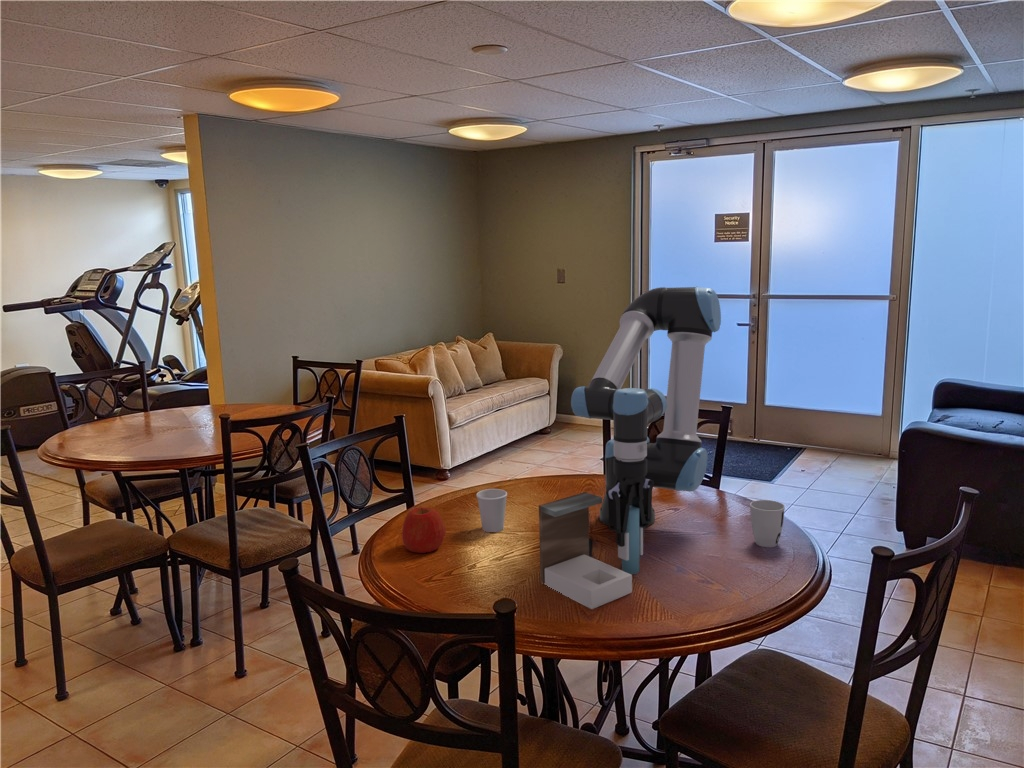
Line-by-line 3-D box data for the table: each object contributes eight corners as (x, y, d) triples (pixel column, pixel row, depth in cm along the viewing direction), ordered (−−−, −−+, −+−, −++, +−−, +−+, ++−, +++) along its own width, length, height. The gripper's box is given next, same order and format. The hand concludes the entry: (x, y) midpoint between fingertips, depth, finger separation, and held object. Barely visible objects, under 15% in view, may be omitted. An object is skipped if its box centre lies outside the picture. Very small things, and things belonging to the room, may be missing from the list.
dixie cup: (500, 521, 205) (499, 486, 203) (513, 530, 198) (512, 495, 196) (472, 526, 202) (471, 491, 200) (484, 536, 194) (483, 500, 192)
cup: (785, 550, 179) (787, 511, 178) (751, 548, 181) (752, 510, 179) (780, 538, 187) (782, 500, 186) (747, 536, 189) (748, 499, 187)
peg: (618, 570, 171) (617, 508, 168) (630, 565, 173) (630, 504, 171) (630, 575, 168) (630, 512, 165) (643, 570, 170) (643, 508, 168)
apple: (453, 543, 190) (451, 503, 189) (431, 559, 181) (429, 517, 179) (417, 537, 195) (415, 499, 193) (394, 552, 185) (391, 512, 183)
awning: (540, 583, 165) (538, 505, 162) (586, 566, 174) (585, 491, 171) (556, 591, 161) (555, 511, 158) (602, 573, 169) (602, 497, 166)
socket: (544, 585, 164) (544, 568, 163) (584, 570, 171) (584, 554, 171) (591, 609, 152) (591, 591, 152) (632, 592, 160) (632, 574, 159)
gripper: (615, 468, 158) (616, 571, 162) (668, 453, 168) (667, 551, 172) (591, 461, 164) (592, 560, 168) (643, 447, 174) (643, 541, 178)
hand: (630, 555), depth 170 cm, fingers closed on peg, 4 cm apart
